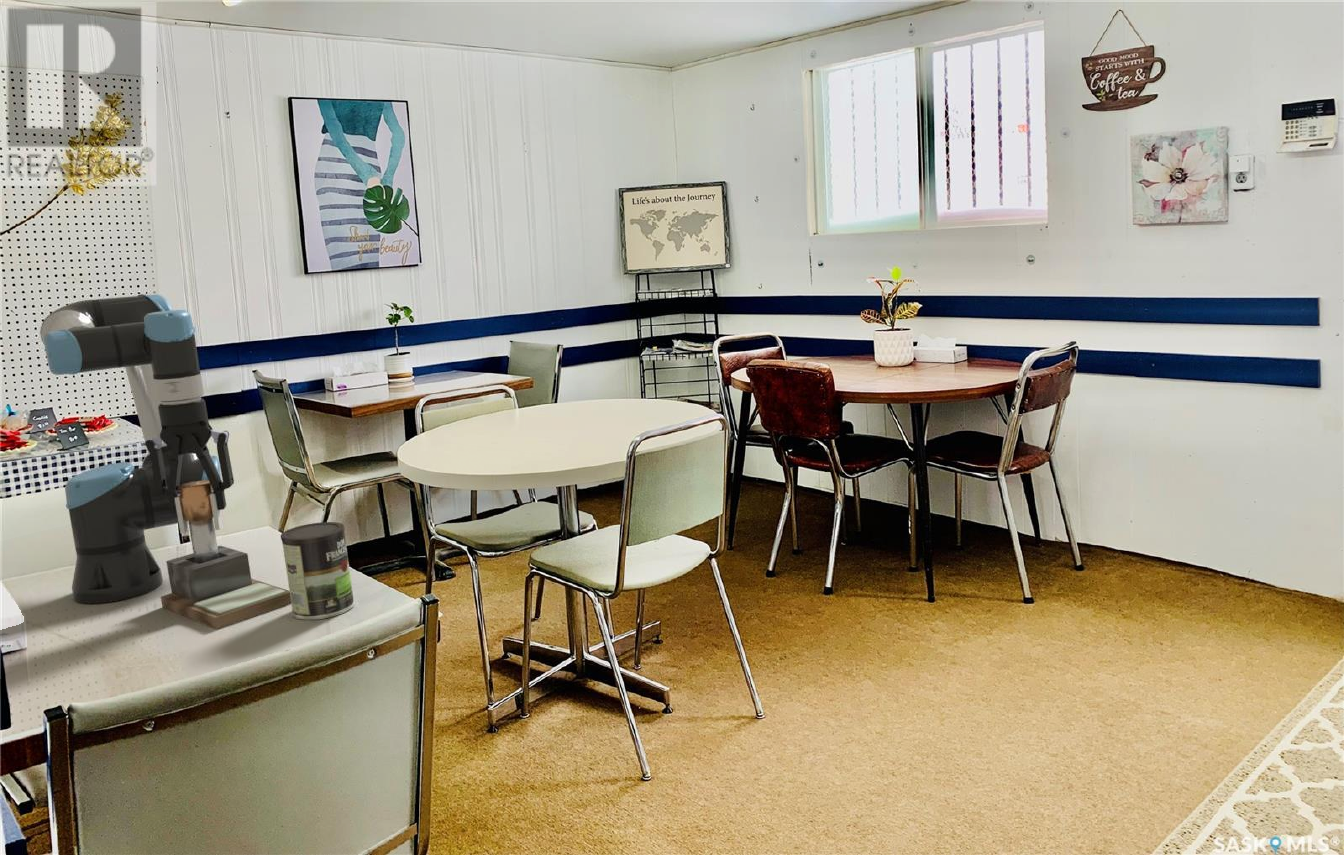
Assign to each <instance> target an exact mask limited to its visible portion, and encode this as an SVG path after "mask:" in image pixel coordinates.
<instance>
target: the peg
mask: <svg viewBox="0 0 1344 855" xmlns="http://www.w3.org/2000/svg"><path fill="white" fill-rule="evenodd" d="M179 491H180V497H181V503H182V509H183V515H184V520H185V521H188V524H189V532H190V540H191V545H192V546H191V547H192V552H193V553H194V558H195V563H198V564H201V563H205V562H208V561H211V560H215V559H218V558H219V553H218V547H217V546H218V542H217V540H218V539H217V535H216V530H215V525H214V518H213V512H212V506H211V500H210V494H211V493H212V486H211V484H210V482H209V481H194V482H189V483H185V484H182V485H180V486H179Z"/></svg>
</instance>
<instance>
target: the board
mask: <svg viewBox="0 0 1344 855" xmlns="http://www.w3.org/2000/svg"><path fill="white" fill-rule="evenodd" d="M217 547H218V553H219V558H218V559H215V560H211V561H208V562H205V563H201V564H198V563H195V558H194V552H193V553H189V554H186V555H183V556H180V557H175V558H172V559H169V560H166V561H165V562H166V567H167V574H168V579H169V584H170V585H169V586H170V592H171V593H168V594H165V595H162V596H160V601H161V607H162V608H164V609H165V610H169V611H171V612H174V613H176V614H179V615H182V616H183V617H186V618H189V619H191V620H194V621H195V622H199V623H202V624H203V625H206V626H209V627H211V628H213V629H216V630H218V629H221V628H225V627H228V626H231V625H232V624H236V623H238V622H242V621H243V620H247V619H251V618H253V617H257V616H258V615H262V614H264V613H268V612H270V611H273V610H276V609H279V608H281V607H284V606H287V605H292V603H291V597H290V590H289V589H284V588H282V587H279V586H276V585H274V584H273V585H272V584H270V583H266V582H263V581H261V580H257V579H255V578H254V579H253V578H252V575H251V567H250V561H249V556H248V555H249V554H248V553H247V552H244V551H241V550H237V549H233V548H230V547H226V546H223V545H217Z"/></svg>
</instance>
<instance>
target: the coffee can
mask: <svg viewBox="0 0 1344 855" xmlns="http://www.w3.org/2000/svg"><path fill="white" fill-rule="evenodd" d="M345 530H346V528H345V525H344V524H343V523H340V522H334V521H333V522H332V521H325V522H314V523H308V524H302V525H298V526H295V527H291V528H290V529H287V530H285V531H284V532H283V531H282V533H281V534H280V540H281V543H282V549H283V557H284V562H285V568H286V575H287V582H288V588H289V589H288V591H290V597H291V608H292V616H293V618H295V619H298V620H303V621H311V620H313V621H314V620H315V621H316V620H323V619H328V618H329V619H330V618H333V617H337V616H340V615H342V614H344V613H347V612H349V611H350V610H352V609H353V607H355V599H354V594H353V587H352V585H353V584H352V579H351V572H350V571H351V570H350V564H349V557H348V550H347V549H348V547H347V542H346V533H345Z"/></svg>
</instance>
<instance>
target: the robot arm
mask: <svg viewBox="0 0 1344 855" xmlns="http://www.w3.org/2000/svg"><path fill="white" fill-rule="evenodd" d="M39 332H40V339H41V341H42V344H43V346H44V349H45V351H44V352H45V354H46V361H47V365H48V368H49V372H50V373H51V374H53V375H56V376H61V375H77V374H80V373H89V372H95V371H96V372H97V371H103V370H111V369H119V368H124V369H125V371H126V372H125V373H126V375H127V379H128V383H129V386H130V389H131V394H132V398H133V401H134V406H135V409H136V413H137V417H138V420H139V424H140V428H141V431H142V436H143V440H144V445H145V447H146V451H147V454H146V455H145V457H144V459H143V460H142V462H141V463H142V466H141V467H139V468H135V467H134V465H133V464H132V463H130V462H127V461H126V462H125V461H121V462H117V463H109V464H105V465H102V466H98V467H94V468H92V469H89V470H86V471H83V472H81V473H79V474H76V475H75V476H73V477H71V478H70V479H69V480H68V481H67V482H66V484H65V487H64V492H65V493H64V494H65V499H66V504H65V507H66V510H68V514H69V519H70V520H69V521H70V525H71V531H72V537H73V542H74V548H75V554H76V562H75V567H74V572H73V579H72V583H71V584H72V585H71V591H72V596H73V600H74V601H75V602H77V603H80V604H82V603H83V604H104V603H111V602H116V601H121V600H126V599H130V598H131V599H132V598H134V597H137V596H141V595H143V594H146V593H149V592H151V591H153V590H155V589H157V588H158V587H159V586H161V585H162V583H163V580H164V579H163V575H162V570H161V568H160V566H159V564H158V562H157V561H156V559H155V557H154V555H153V553H152V552H151V551H150V548H149V547H148V545H147V543H146V537H145V531H146V530H151V529H156V528H163V527H165V526H173V525H177V524H178V527H179V533H180V534H186V533H187V532H188V531H190V528H189V522H188V521H185V520H184V515H183V509H182V503H181V497H180V491H179V486H180V485H182V484H185V483H189V482H194V481H209V482H210V484H211V486H212V493H211V494H210V500H211V506H212V512H213V522H214V528H215V531H218V530H219V531H220V530H221V529H222V528H223V526H224V524H225V523H224V518H223V512H222V511H223V510H224V509H226V507H227V501H226V500H227V499H226V494H225V490H226V489H229V488H232V486H233V485H234V483H235V480H234V479H235V478H234V473H233V469H232V468H233V467H232V463H231V456H230V451H229V446H228V442H229V436H230V432H229V431H228V430H223V431H220V430H216V429H213V427H212V426H211V424H210V423H209V418H208V410H207V404H206V400H205V399H204V398H202V397H204V395H205V392H204V385H203V380H202V374H201V369H200V362H199V356H198V350H197V341H196V335H195V332H196V329H195V326H194V323H193V318H192V315H191V313H190V312H189V311H188V310H185V309H175V310H174V309H173V308H172V306H171V304H170V302H169V301H168V299H167V298H166V297H165V296H163V295H161V294H157V293H156V294H143V293H142V294H138V295H135V296H133V295H132V296H122V297H111V298H110V297H109V298H97V299H96V298H95V299H85V300H79V301H76V302H72V303H68V304H66V305H64V306H61V307H59V308H58V309H55V310H54V311H52V312H50V314H48V315H47V316H46V317H45V318H44V320H43V321H42V322H41V327H40V331H39ZM211 437H212V439H213V442H214V443H215V444H216V451H217V456H218V457H217V456H216V455H211V454H210V450H209V447H208V442H209V440H210V439H211Z"/></svg>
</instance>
